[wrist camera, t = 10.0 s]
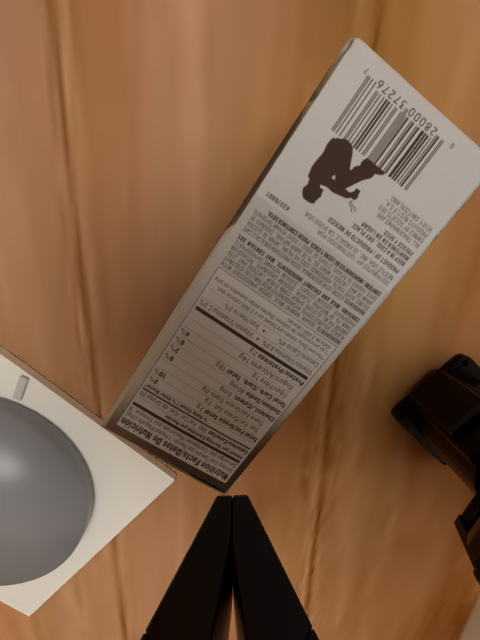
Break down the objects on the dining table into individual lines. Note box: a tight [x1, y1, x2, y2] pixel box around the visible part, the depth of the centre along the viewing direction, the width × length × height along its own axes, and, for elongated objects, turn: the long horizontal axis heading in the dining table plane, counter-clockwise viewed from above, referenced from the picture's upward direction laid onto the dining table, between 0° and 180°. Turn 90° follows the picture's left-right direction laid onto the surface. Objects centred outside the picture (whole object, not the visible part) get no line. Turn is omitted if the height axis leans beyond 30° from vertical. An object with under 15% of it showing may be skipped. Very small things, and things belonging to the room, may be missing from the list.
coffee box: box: [102, 38, 480, 494], centre depth 15 cm, size 9×6×16 cm
